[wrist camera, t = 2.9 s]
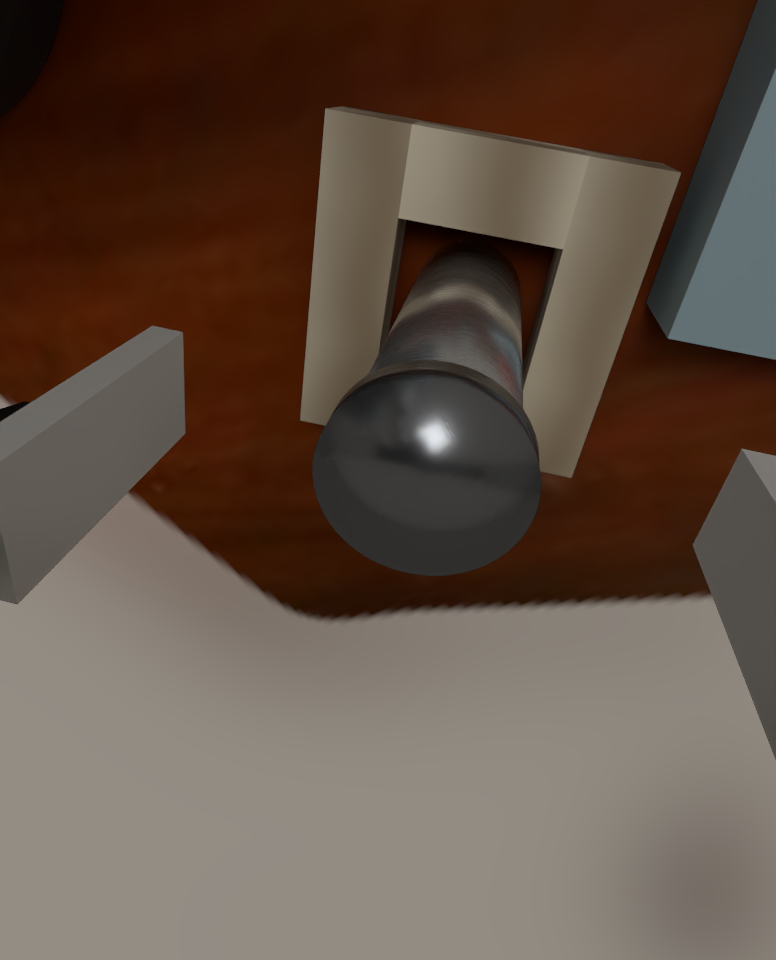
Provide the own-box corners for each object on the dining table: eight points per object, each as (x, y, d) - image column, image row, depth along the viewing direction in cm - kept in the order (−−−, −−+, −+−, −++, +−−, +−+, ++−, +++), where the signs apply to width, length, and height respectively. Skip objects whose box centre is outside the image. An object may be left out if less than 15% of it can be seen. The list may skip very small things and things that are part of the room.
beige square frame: (316, 395, 28) (300, 420, 26) (343, 106, 22) (325, 108, 20) (567, 447, 27) (571, 477, 25) (664, 164, 21) (681, 172, 19)
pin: (399, 339, 26) (304, 549, 14) (418, 221, 24) (323, 356, 12) (511, 362, 26) (508, 596, 14) (542, 244, 23) (571, 408, 12)
